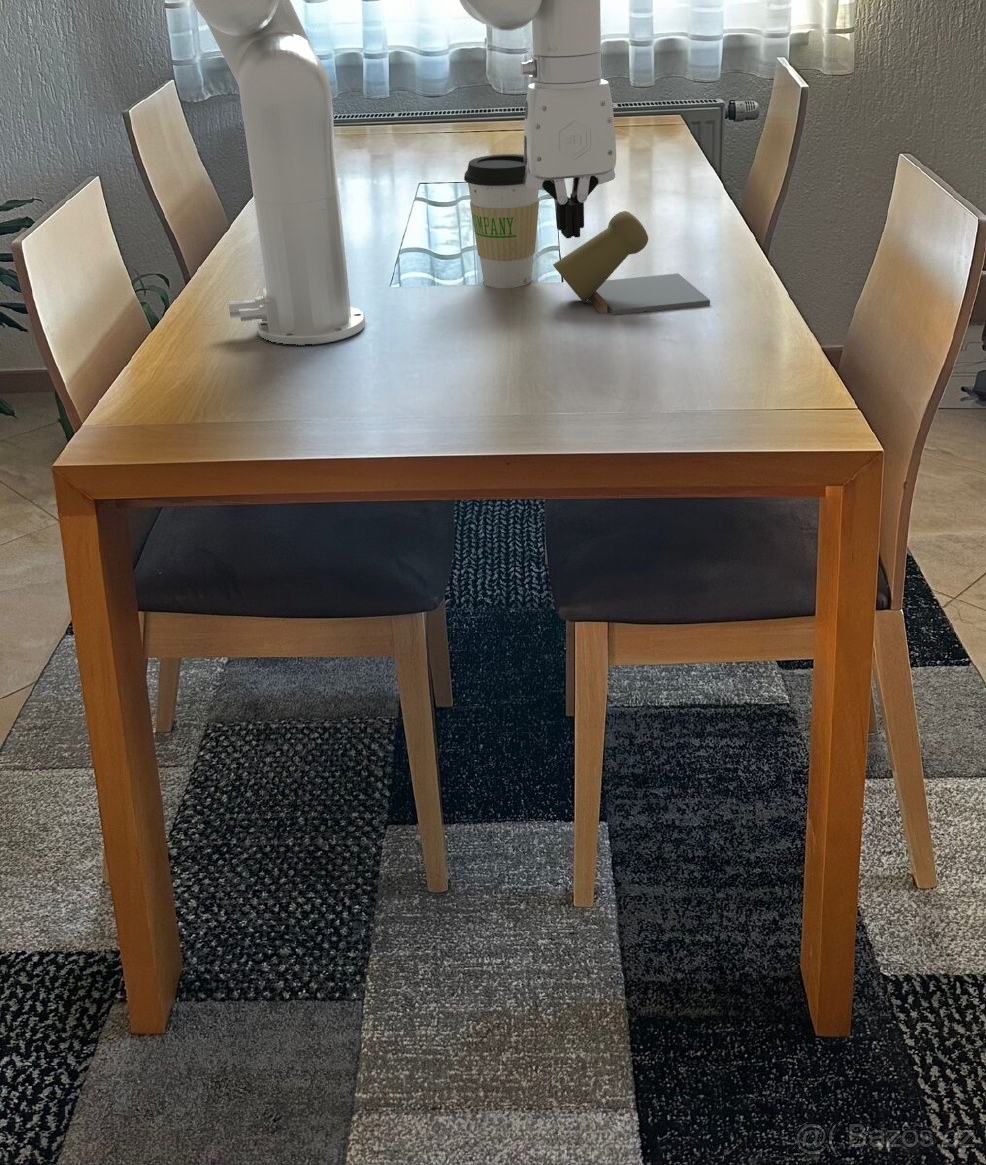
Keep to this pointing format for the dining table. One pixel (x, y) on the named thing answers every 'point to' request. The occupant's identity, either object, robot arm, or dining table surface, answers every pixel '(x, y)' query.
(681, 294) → the charcoal mat
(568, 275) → the cork
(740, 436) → the dining table surface
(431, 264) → the dining table surface
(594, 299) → the walnut strip
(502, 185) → the coffee cup
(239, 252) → the dining table surface
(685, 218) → the dining table surface
